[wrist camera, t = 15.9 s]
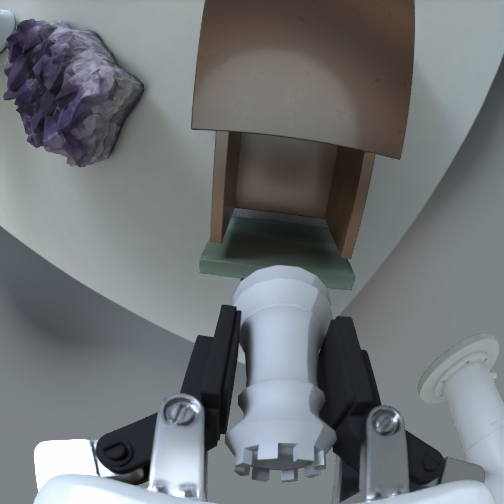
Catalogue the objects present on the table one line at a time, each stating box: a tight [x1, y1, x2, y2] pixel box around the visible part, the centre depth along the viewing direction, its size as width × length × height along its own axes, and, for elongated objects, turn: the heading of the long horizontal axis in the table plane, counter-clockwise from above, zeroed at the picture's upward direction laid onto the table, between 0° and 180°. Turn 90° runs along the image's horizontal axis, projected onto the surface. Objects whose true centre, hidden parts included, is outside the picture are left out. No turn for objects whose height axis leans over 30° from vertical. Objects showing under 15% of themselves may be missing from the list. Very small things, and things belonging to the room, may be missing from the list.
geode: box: [3, 19, 144, 167], centre depth 18 cm, size 20×12×10 cm, turn 39°
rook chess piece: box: [225, 265, 337, 482], centre depth 9 cm, size 4×4×8 cm
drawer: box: [200, 131, 375, 290], centre depth 22 cm, size 18×11×9 cm, turn 174°
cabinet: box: [191, 0, 415, 160], centre depth 16 cm, size 15×13×11 cm
